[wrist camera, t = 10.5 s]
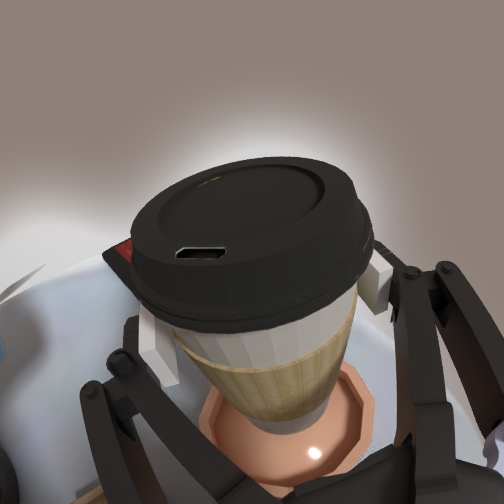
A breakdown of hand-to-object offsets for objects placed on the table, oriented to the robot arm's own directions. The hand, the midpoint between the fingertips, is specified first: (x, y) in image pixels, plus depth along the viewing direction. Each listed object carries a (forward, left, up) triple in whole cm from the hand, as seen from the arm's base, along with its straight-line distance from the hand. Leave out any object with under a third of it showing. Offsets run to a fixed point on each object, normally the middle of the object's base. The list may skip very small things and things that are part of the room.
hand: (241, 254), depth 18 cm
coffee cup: (+4, -2, -10) cm, 11 cm away
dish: (+3, -2, -16) cm, 17 cm away
